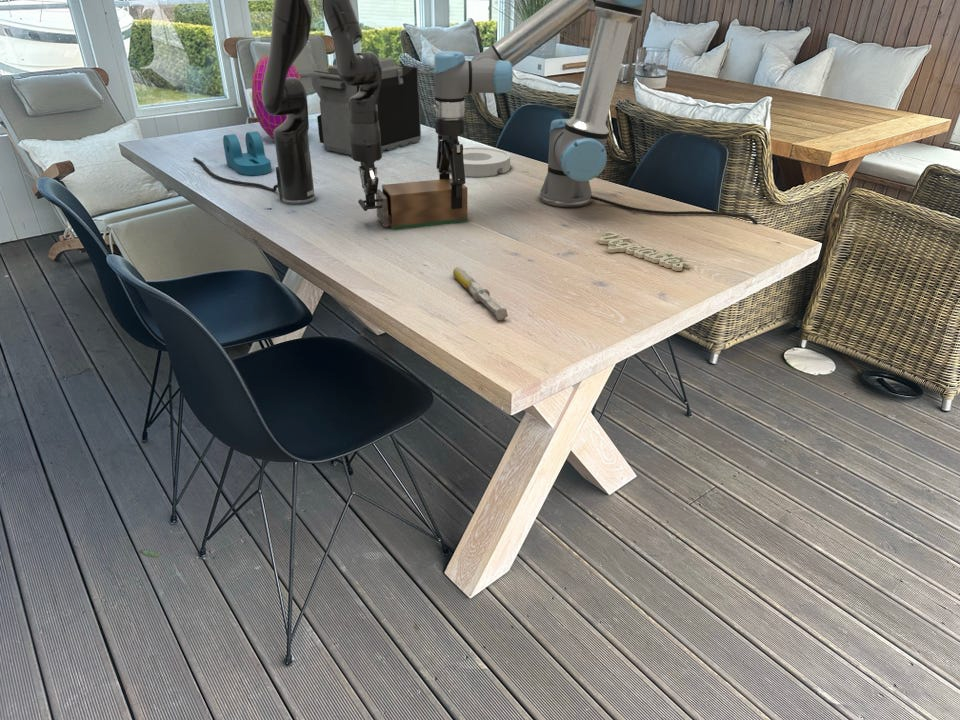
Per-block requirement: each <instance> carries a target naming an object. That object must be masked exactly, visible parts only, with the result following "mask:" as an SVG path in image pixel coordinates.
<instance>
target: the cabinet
mask: <svg viewBox="0 0 960 720" xmlns="http://www.w3.org/2000/svg"><path fill="white" fill-rule="evenodd" d="M451 183H453V181H452V177H450V179H440V178H439V179H430V180H419V181H418V180H417V181H409V182H398V183H386V184H382V185H381V192H382V193H383V194H384V195H385V196H386V193H387V194H388V195H389V197H390V203H391V220H392V221H391V220H390V219H389V217H388V219H389V227H390V229H392V231H393V230H402V229H404V230H405V229H413V228H421V227H430V226H437V225H438V226H439V225H446V224H456V223H464V222H465V223H466V222H468V221H469V218H468V187H467V186H466V185H465V184H463V185H462V208H460V209H452V189H451V185H450V184H451ZM385 192H386V193H385Z"/></svg>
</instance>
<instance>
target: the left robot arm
mask: <svg viewBox="0 0 960 720" xmlns="http://www.w3.org/2000/svg"><path fill="white" fill-rule="evenodd" d="M321 4H322V7H321V8H322V13H323V16H324V19H325V23H326V25H327V27H328V30H329V32H330V36H331V37H332V40H333V41H332V42H333V47H334V49H333V50H334V55H335V58H336V64H337V70H338V74H339V76H340V78H341V79H342V81H343V82H344V83H345V84H347V85H349V86H359V85H360V88H359V92H358V93H357V94H356V95H354V96H352V97H351V98H350V99H349V117H350V140H351V152H352V155H351V159H352V160H353V161H354V162H359V163H360V165H359V166H358V172H359V173H358V174H359V177H360V183H361V188H362V190H363V193H364V198H365V200H366V203H365V205H366V206H367V207H369V206H376V202H375V199H376V194H377V189H379V187H378V186H379V181H380V179H379V177H378V176H377V175H378V168H377V167H376V164H375V163H376V162H378V161H380V160H381V159H382V158H383V154H382V152H383V150H382V149H381V134H380V127H379V121H378V106H377V103H378V98H379V92H380V87H381V81H382V66H381V63H380V60H379V58H380V57H379V56H377V54H375V53H374V52H371V51H363V52H362V51H361V52H355V49H354V46H355V45H356V44H357V43H359V42H360V41H361V40H362V38H363V32H362V28H361V25H360V22H359V20H358V18H357V15H356V12H355V9H354V7H353V4H352V1H351V0H321ZM311 5H312V4H311V2H310V0H274V4H273V9H272V19H271V33H270V43H269V51H268V55H269V56H268V55H267V56H268V61H267V66H266V71H265V75H264V80H263V85H262V102H263V106H264V108H265V110H266V112H267V113H268V114H270V115H272V116H282V115H287V118H286V120H285V121H284V122H283V123H282V124H281V125H280V126H278V127H277V128H276V129H275V130H274V139H273V140H274V148H275V154H276V161H277V166H276V167H275V175H276V181H277V183H276V184H274V185H273V187H269V186H267V185H264V184H261V183H255V182H247V181H240V180H234V179H230V178H226V177H222V176H220V175H217V174H215V173H214V172H212V171H211V170H210V168H209V167H207V165H206V164H205V163H204V162H203V161H202V160H200V159H198V158H196V156H195V157H193V161H195V162H197V163H198V164H200V165H201V166H202V168H203V169H204V170H205V171H206V172H207V174H209V175H210V176H212V177H213V178H215V179H217V180H219V181H222V182H226V183H230V184H235V185H241V186H250V187H257V188H261V189H264V190H266V191H269V192H276V191H277V192H278V196H279V201H282V202H283V203H285V204H290V205H303V204H308V203H312V202H313V201H315V200H316V193H315V187H314V177H313V168H312V160H311V159H312V158H311V152H310V151H311V150H310V142H309V141H310V140H309V129H310V122H309V105H308V96H307V91H306V88H305V85H304V83H303V81H302V80H301V81H302V82H301V81H300V80H299V79H298V78H295V77H289V78H286V77H287V74H288V71H289V69H290V67H291V65H292V64H293V65H294V62H296V60H297V58H298V57H299V55H300V54H301V53H302V51H303V50H304V49H305V47H306V46H307V44H308V41H309V38H310V34H311V27H312V20H313V9H312V6H311Z"/></svg>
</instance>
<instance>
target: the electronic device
mask: <svg viewBox="0 0 960 720" xmlns="http://www.w3.org/2000/svg"><path fill="white" fill-rule="evenodd" d="M378 58H379V60H380V63H381V66H382V81H381V87H380V92H379V98H378V103H377V106H378V121H379V127H380V134H381V149H382V151H391V150H395V149H396V148H397V147H405V146H407V145H408V144H416V143H418V142H419V141H421V137H422V128H421V97H420V92H419V91H420V89H419V68H418V67H417V66H408V65H400V64H396V62H395V60H394V59H393V58H385V57H378ZM310 79H311V87H313V90H314V91H315V93H316V94H317V96H318V98H319V110H320V111H319V112H320V114H319V115H317V116H316V119H317V128H318V138H319V143H320V144H323V146H324V149H325V150H327V151H330V152H335V153H340V154H344V155H348V156H352V152H351V140H350V117H349V99H350V98H351V97H352V96H354V95H356V94H357V93H358V92H359V88H360V85H359V86H349V85H347V84H345V83H344V82H343V81H342V79H341V78H340V76H339V74H338V70H337V64H336V63H335V65H333V64H332V66H331V67H329V72H328V71H320V70H314V71H313V70H312V71H310Z"/></svg>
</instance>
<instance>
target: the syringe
mask: <svg viewBox="0 0 960 720" xmlns="http://www.w3.org/2000/svg"><path fill="white" fill-rule="evenodd" d="M452 274H453V277H454V279H455V280H457V281H458V282H459V283H460V285H462V287H464V289H466V290H467V291H468V293H470V295H471V296H472V298H473V300H474V302H477V303H478V302H480V303H482V304H483V305H484V306H485V307H486V308H487V309H488V310H489V311H490V312H491V313H492V314H493V315H494V316H495V317H496V320H497V321H503V320H504V319H506V318H507V317H509V314H508V310H507V308H506V307H502V306H501V305H500V303H498V302H497V301H496V300H494V299H493V298H492V297H491V296H490V295H491V293H490V290H488V289H486V288H483V287H482V286H481V285H480V284H479V283H478V282H477V281H476V280H474V278H473V277H471V275H469V274H468V273H467V272H466V270H465V269H464V268H463V267H462V266H456V267H454V268H453V271H452Z"/></svg>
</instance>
